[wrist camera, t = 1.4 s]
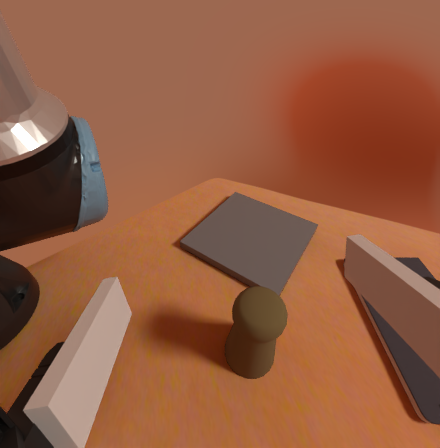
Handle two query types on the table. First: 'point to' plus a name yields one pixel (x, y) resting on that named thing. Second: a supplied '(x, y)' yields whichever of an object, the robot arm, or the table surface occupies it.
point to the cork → (255, 331)
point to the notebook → (409, 358)
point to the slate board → (251, 241)
